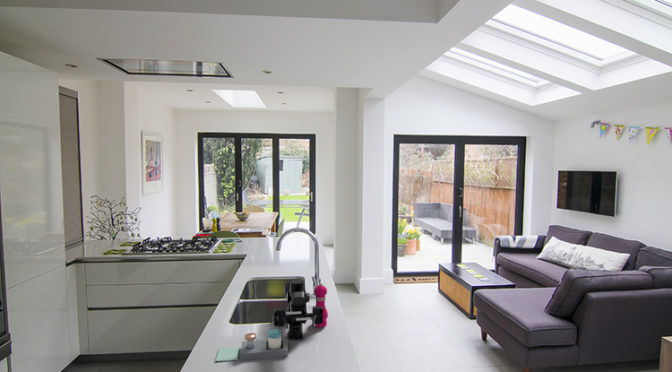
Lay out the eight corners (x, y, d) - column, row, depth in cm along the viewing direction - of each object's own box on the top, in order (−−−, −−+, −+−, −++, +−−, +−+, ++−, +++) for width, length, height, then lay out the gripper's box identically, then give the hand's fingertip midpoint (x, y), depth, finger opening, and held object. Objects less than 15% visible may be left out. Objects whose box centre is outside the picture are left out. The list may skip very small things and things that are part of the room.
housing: (242, 347, 143) (242, 341, 143) (286, 344, 146) (286, 338, 146) (240, 360, 134) (240, 353, 134) (287, 356, 137) (287, 350, 137)
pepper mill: (310, 322, 166) (310, 280, 164) (324, 319, 169) (325, 279, 167) (315, 329, 159) (316, 286, 158) (330, 326, 162) (331, 284, 161)
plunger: (245, 346, 141) (244, 333, 140) (256, 345, 141) (256, 332, 141) (244, 352, 136) (244, 338, 136) (255, 351, 137) (255, 338, 137)
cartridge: (268, 348, 143) (268, 329, 142) (280, 347, 144) (281, 328, 143) (268, 355, 138) (268, 335, 137) (281, 354, 139) (281, 334, 138)
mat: (219, 349, 141) (219, 348, 141) (239, 347, 143) (239, 346, 143) (215, 362, 132) (215, 360, 132) (237, 360, 134) (237, 359, 134)
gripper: (274, 289, 140) (274, 306, 125) (320, 287, 143) (326, 303, 128) (273, 316, 141) (274, 336, 126) (320, 314, 144) (325, 333, 129)
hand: (300, 326), depth 127 cm, fingers open, 9 cm apart
